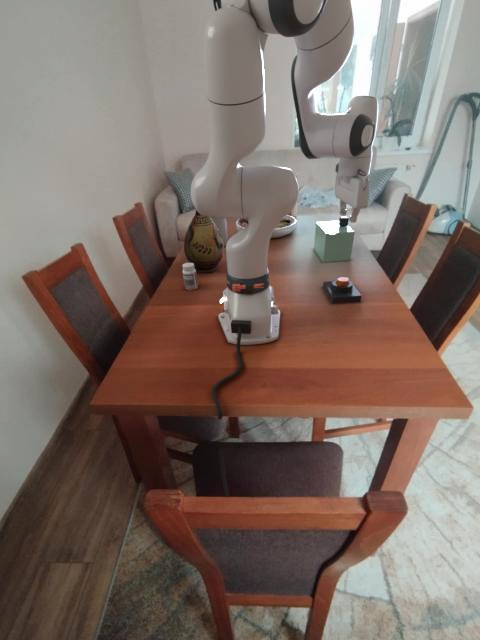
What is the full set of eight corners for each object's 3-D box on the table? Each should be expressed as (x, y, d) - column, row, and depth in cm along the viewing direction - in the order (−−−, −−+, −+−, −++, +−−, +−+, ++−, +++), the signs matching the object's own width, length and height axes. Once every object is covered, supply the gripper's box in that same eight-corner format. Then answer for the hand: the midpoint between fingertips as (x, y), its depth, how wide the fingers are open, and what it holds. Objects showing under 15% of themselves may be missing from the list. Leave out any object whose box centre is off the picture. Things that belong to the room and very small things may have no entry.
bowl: (304, 226, 170) (305, 209, 165) (281, 243, 150) (282, 225, 145) (252, 221, 182) (252, 205, 177) (225, 237, 162) (224, 220, 157)
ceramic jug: (225, 275, 125) (217, 186, 106) (185, 277, 125) (170, 189, 107) (226, 258, 138) (219, 177, 120) (190, 260, 139) (177, 180, 120)
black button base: (360, 301, 103) (362, 290, 101) (332, 304, 103) (333, 292, 101) (348, 285, 113) (350, 274, 110) (322, 287, 112) (323, 276, 110)
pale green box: (351, 262, 129) (356, 232, 122) (324, 264, 129) (327, 234, 122) (338, 247, 143) (342, 220, 136) (313, 248, 143) (316, 221, 136)
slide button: (347, 225, 129) (349, 217, 127) (340, 226, 129) (341, 218, 127) (346, 224, 131) (347, 216, 129) (338, 224, 131) (339, 216, 129)
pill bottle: (192, 283, 120) (188, 261, 115) (201, 286, 118) (197, 263, 113) (182, 288, 117) (178, 265, 112) (191, 291, 115) (187, 268, 110)
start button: (349, 286, 104) (350, 281, 103) (338, 287, 104) (339, 281, 103) (346, 281, 107) (346, 276, 106) (335, 282, 107) (335, 277, 106)
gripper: (379, 171, 88) (369, 226, 97) (353, 163, 104) (346, 211, 113) (356, 173, 88) (348, 227, 96) (333, 165, 104) (328, 212, 113)
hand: (347, 218), depth 105 cm, fingers open, 8 cm apart
